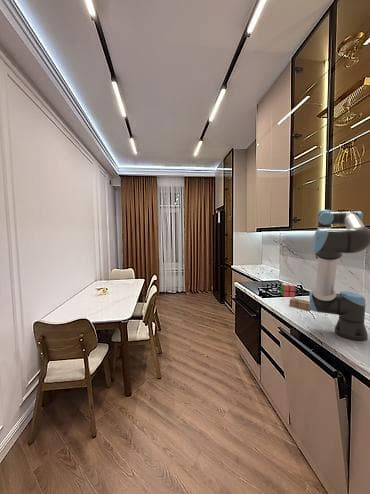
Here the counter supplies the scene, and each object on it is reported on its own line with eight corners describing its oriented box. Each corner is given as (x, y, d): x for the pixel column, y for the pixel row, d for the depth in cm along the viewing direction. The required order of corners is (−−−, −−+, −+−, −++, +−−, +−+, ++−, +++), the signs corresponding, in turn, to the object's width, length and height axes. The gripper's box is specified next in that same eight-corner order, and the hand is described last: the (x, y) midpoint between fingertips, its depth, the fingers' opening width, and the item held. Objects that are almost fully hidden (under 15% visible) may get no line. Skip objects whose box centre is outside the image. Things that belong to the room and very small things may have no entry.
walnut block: (289, 306, 182) (309, 311, 172) (289, 299, 182) (309, 304, 171) (293, 304, 187) (313, 308, 176) (293, 297, 187) (313, 302, 176)
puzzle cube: (295, 297, 205) (295, 285, 205) (282, 296, 207) (283, 285, 207) (292, 294, 215) (292, 283, 214) (280, 293, 217) (280, 282, 216)
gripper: (336, 234, 156) (335, 270, 157) (315, 233, 165) (313, 267, 167) (333, 234, 151) (331, 271, 152) (311, 233, 160) (309, 269, 162)
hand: (322, 269), depth 159 cm, fingers closed
